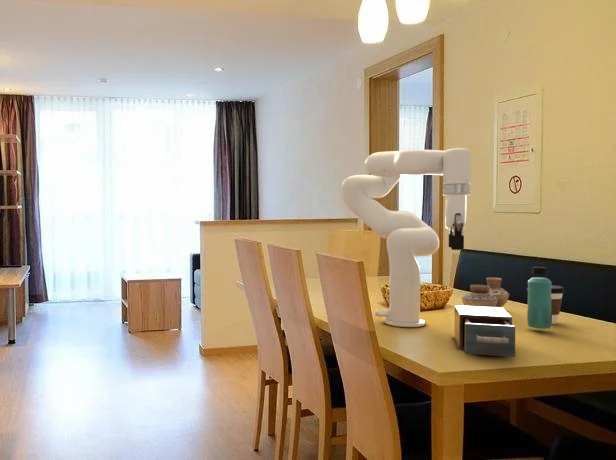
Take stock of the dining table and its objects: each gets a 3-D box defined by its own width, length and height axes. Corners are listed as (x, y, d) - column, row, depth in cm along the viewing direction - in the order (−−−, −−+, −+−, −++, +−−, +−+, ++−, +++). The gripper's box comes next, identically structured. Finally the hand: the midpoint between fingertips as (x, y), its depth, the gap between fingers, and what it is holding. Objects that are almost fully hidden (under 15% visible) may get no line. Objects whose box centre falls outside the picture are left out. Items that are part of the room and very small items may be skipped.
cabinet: (511, 352, 152) (512, 316, 152) (459, 349, 156) (459, 314, 156) (502, 340, 166) (502, 307, 166) (454, 337, 170) (454, 305, 170)
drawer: (518, 362, 140) (519, 330, 140) (467, 358, 144) (467, 327, 143) (505, 344, 157) (505, 316, 157) (459, 341, 161) (460, 314, 161)
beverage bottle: (555, 334, 174) (556, 268, 173) (531, 333, 175) (532, 267, 174) (546, 329, 180) (547, 265, 179) (523, 328, 181) (524, 265, 181)
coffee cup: (546, 318, 197) (547, 283, 197) (572, 325, 187) (573, 288, 186) (518, 319, 195) (519, 284, 195) (543, 326, 185) (543, 289, 184)
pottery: (514, 310, 213) (514, 278, 212) (491, 320, 195) (491, 285, 194) (481, 307, 220) (481, 275, 220) (456, 316, 203) (457, 282, 202)
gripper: (440, 191, 179) (440, 246, 180) (445, 190, 163) (444, 250, 164) (467, 191, 177) (466, 246, 177) (474, 189, 160) (473, 251, 161)
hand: (455, 248), depth 171 cm, fingers open, 9 cm apart
